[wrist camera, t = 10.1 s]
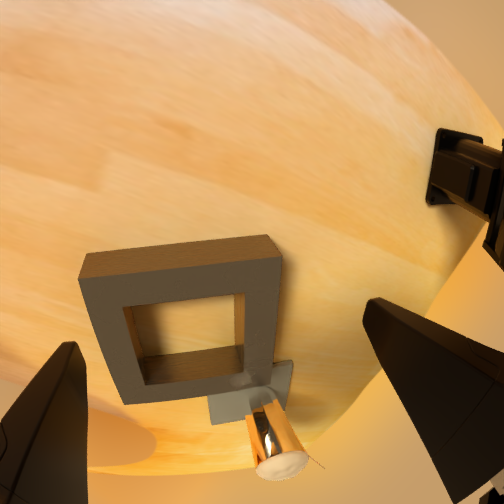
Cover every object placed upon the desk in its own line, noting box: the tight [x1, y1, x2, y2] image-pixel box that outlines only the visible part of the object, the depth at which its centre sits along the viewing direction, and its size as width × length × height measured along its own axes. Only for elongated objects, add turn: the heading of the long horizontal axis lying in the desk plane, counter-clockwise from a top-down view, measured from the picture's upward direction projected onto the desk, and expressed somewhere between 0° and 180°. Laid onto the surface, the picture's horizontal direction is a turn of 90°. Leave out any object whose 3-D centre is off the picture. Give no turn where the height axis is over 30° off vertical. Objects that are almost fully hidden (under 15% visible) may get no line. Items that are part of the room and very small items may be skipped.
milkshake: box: [241, 386, 324, 481], centre depth 25 cm, size 4×5×10 cm
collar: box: [78, 234, 282, 405], centre depth 22 cm, size 12×12×3 cm
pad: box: [207, 360, 293, 425], centre depth 30 cm, size 8×8×1 cm
